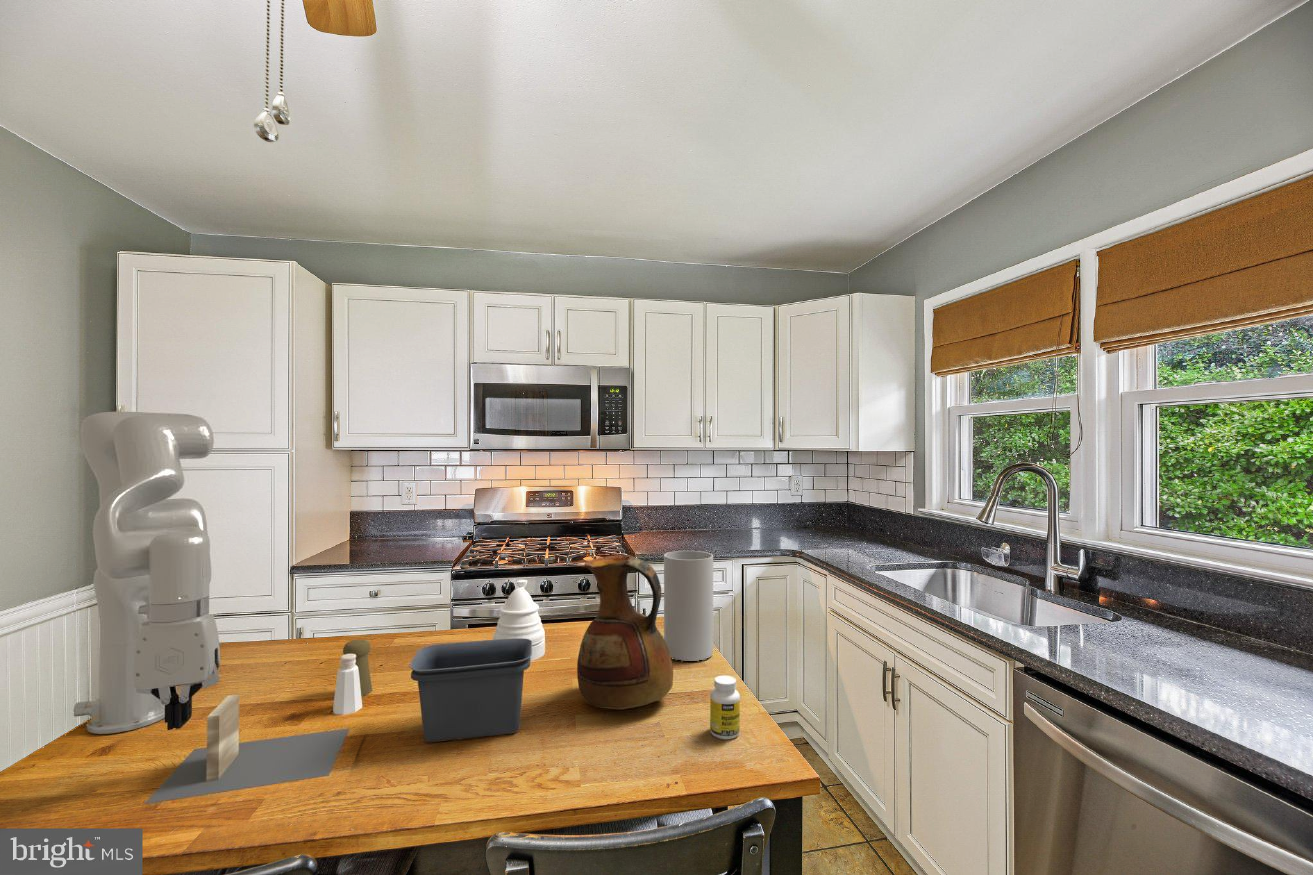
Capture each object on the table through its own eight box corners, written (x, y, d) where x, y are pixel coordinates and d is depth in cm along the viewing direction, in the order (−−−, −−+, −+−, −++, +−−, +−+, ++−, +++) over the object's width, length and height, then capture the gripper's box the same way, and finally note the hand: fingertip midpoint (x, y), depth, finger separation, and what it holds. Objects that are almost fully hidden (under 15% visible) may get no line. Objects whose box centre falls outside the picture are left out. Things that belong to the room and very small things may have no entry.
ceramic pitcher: (593, 677, 131) (593, 545, 131) (680, 684, 127) (680, 549, 127) (562, 717, 112) (562, 562, 112) (663, 727, 107) (663, 567, 108)
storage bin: (404, 753, 98) (405, 669, 99) (422, 712, 113) (422, 640, 114) (531, 740, 103) (531, 660, 103) (532, 702, 118) (532, 632, 118)
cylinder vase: (688, 641, 154) (688, 548, 155) (723, 654, 145) (723, 555, 145) (653, 653, 146) (653, 554, 146) (689, 667, 137) (688, 562, 137)
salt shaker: (341, 719, 110) (342, 662, 111) (326, 713, 113) (327, 657, 113) (368, 709, 115) (369, 653, 115) (353, 702, 118) (353, 648, 118)
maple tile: (206, 781, 89) (207, 716, 89) (227, 754, 97) (227, 695, 97) (218, 779, 90) (219, 715, 90) (238, 753, 97) (239, 694, 98)
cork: (358, 699, 119) (359, 646, 119) (333, 697, 120) (334, 644, 121) (378, 687, 125) (378, 637, 125) (354, 685, 126) (354, 635, 126)
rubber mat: (143, 807, 84) (143, 804, 84) (194, 751, 99) (194, 748, 99) (328, 778, 91) (328, 775, 91) (349, 730, 106) (349, 728, 106)
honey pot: (505, 643, 153) (505, 576, 153) (551, 646, 151) (551, 577, 151) (484, 661, 140) (484, 588, 141) (534, 664, 138) (534, 589, 139)
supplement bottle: (721, 743, 102) (720, 687, 102) (704, 729, 106) (704, 676, 107) (745, 736, 104) (745, 681, 104) (728, 723, 109) (728, 671, 109)
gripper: (107, 621, 86) (105, 744, 86) (224, 612, 91) (223, 729, 90) (135, 608, 93) (134, 721, 93) (243, 600, 98) (242, 708, 97)
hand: (178, 725), depth 92 cm, fingers closed
